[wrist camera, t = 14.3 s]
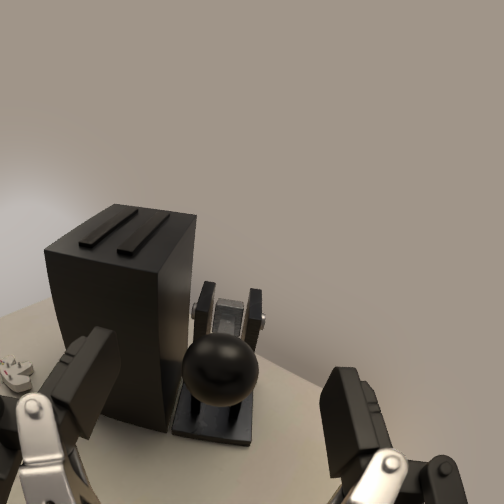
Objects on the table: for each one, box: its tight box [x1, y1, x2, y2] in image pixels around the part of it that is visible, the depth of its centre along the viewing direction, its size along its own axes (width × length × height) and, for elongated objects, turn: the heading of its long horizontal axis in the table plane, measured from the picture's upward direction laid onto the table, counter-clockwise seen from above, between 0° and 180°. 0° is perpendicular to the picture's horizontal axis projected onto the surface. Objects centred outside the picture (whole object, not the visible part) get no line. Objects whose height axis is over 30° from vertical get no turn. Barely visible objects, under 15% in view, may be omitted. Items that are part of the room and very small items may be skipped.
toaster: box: [44, 204, 197, 433], centre depth 25 cm, size 12×9×19 cm
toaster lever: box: [181, 298, 259, 407], centre depth 18 cm, size 14×4×4 cm, turn 179°
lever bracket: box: [171, 281, 265, 446], centre depth 26 cm, size 10×8×15 cm
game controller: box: [0, 355, 34, 392], centre depth 20 cm, size 6×12×3 cm, turn 173°
